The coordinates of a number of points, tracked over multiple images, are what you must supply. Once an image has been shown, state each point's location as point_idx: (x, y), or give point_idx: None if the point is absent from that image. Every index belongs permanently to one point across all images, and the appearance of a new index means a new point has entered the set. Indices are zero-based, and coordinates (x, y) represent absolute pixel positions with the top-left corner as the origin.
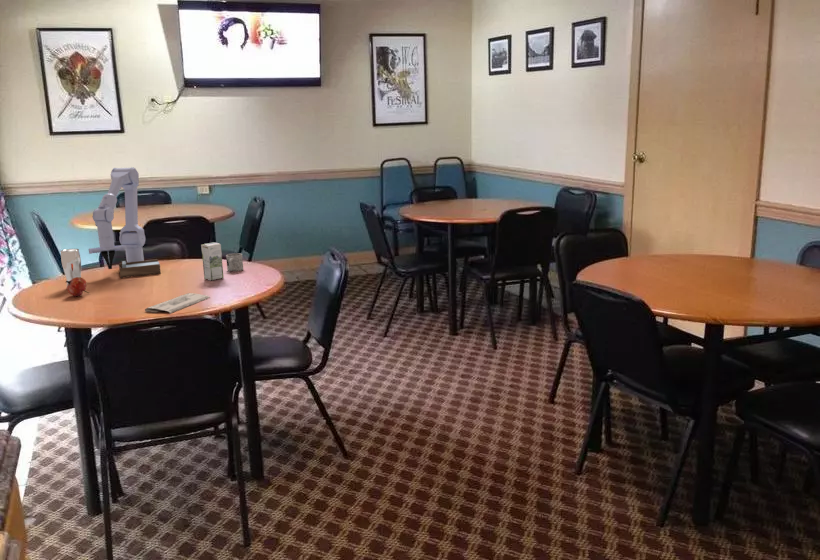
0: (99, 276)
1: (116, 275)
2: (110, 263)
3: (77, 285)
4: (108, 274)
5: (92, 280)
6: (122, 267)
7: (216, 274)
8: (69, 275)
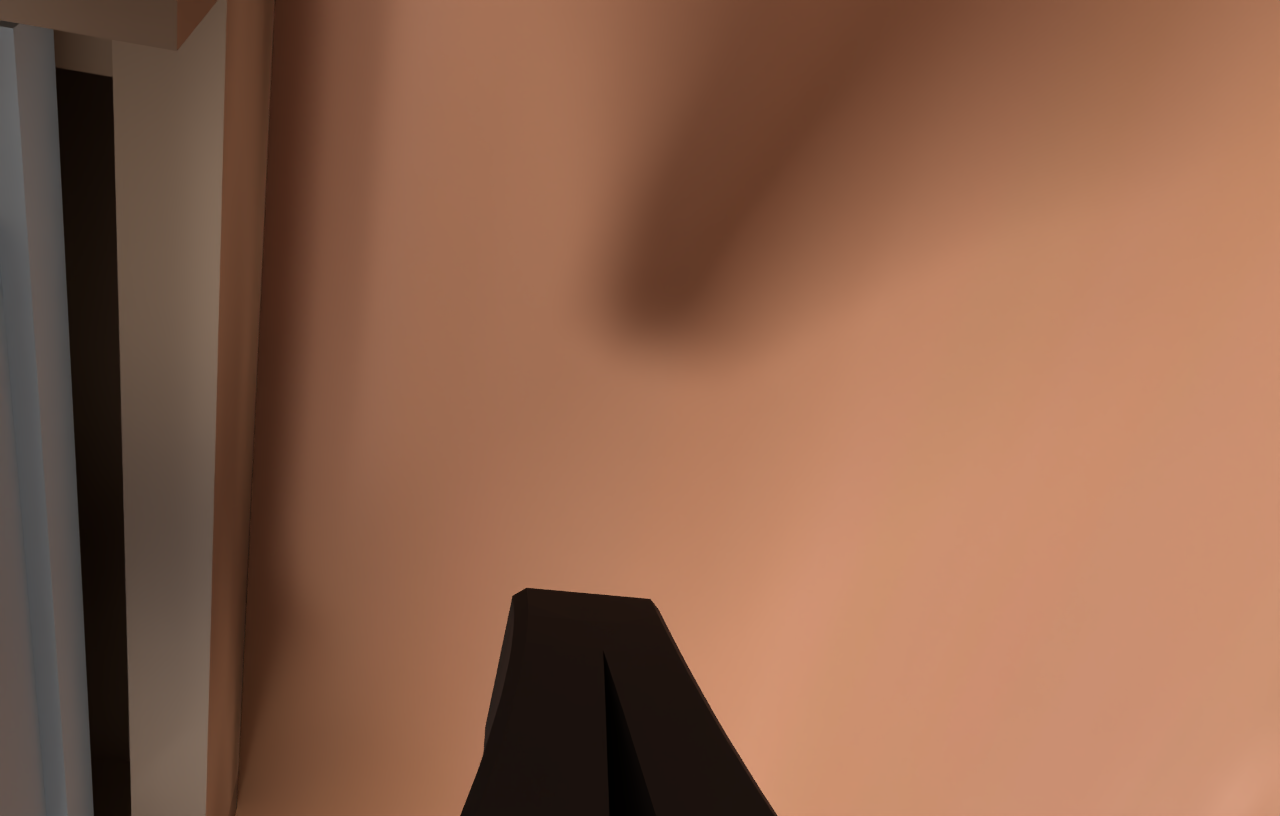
0: (850, 641)
1: (381, 473)
2: (575, 757)
3: None
4: None
5: (1259, 199)
6: (41, 607)
7: None
8: None
